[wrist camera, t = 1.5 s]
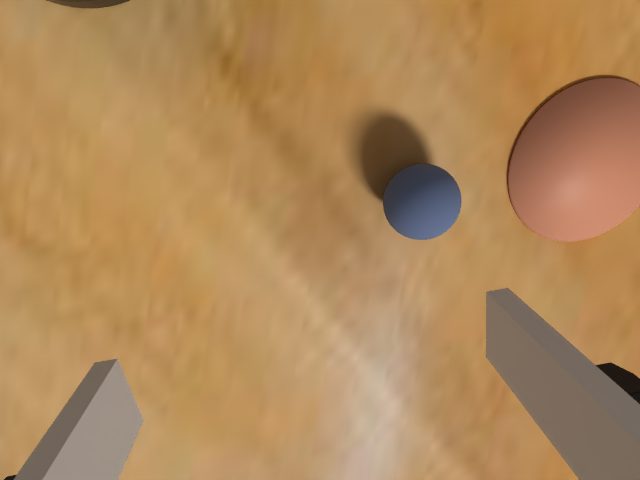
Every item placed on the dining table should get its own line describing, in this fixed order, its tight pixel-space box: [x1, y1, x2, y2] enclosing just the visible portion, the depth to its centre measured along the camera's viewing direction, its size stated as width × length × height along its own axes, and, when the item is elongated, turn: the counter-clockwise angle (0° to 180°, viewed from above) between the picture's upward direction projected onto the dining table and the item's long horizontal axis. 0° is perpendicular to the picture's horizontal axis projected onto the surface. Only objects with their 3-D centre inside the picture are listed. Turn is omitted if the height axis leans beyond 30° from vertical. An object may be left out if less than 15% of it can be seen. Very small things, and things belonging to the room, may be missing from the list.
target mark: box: [508, 78, 640, 242], centre depth 31 cm, size 13×13×1 cm
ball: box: [383, 164, 461, 240], centre depth 28 cm, size 6×6×6 cm
